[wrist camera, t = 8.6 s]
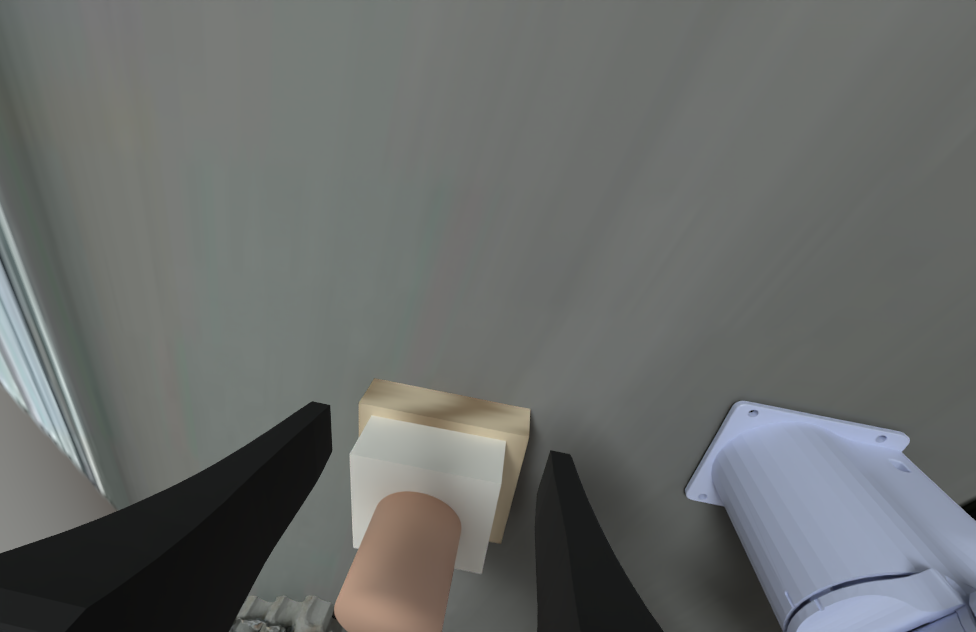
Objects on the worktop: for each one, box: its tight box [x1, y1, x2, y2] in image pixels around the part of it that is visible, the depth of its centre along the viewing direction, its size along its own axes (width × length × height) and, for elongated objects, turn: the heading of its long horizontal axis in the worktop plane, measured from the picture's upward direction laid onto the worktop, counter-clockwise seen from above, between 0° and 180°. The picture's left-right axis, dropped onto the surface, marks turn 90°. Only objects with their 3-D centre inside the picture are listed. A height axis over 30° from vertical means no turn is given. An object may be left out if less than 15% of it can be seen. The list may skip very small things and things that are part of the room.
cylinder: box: [334, 491, 461, 632], centre depth 20 cm, size 5×5×5 cm
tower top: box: [350, 415, 506, 574], centre depth 24 cm, size 8×8×3 cm
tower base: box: [359, 378, 530, 544], centre depth 26 cm, size 10×10×3 cm
